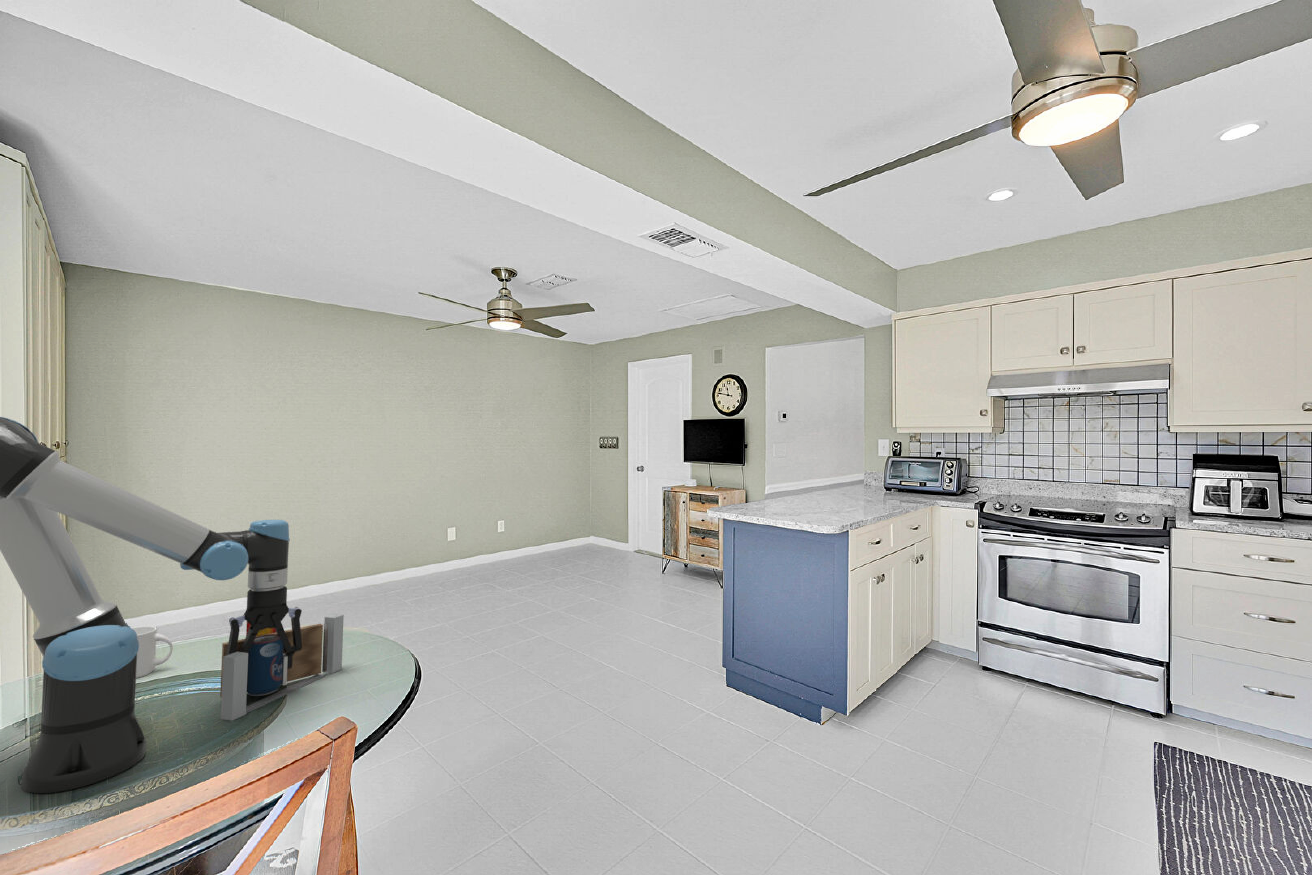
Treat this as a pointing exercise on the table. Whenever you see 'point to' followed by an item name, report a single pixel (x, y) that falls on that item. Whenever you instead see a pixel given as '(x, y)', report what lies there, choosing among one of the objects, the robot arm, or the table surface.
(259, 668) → the soda can
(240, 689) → the gray u-shaped frame
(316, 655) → the door
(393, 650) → the table surface
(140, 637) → the mug
